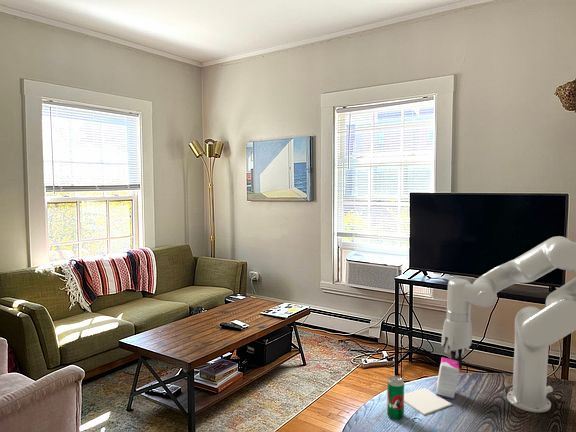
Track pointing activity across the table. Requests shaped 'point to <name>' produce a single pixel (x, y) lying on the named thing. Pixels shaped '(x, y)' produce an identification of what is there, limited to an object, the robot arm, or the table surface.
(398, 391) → the soda can
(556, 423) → the table surface
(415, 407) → the mat
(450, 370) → the supplement box
